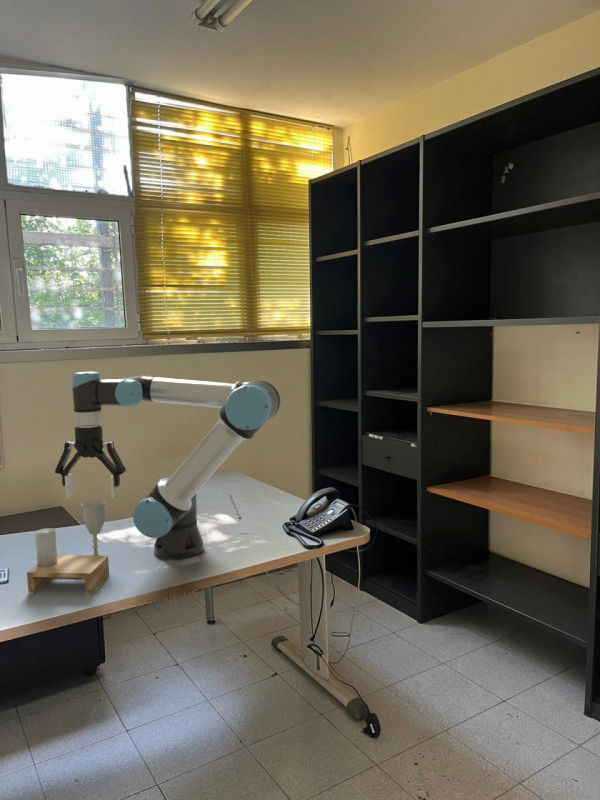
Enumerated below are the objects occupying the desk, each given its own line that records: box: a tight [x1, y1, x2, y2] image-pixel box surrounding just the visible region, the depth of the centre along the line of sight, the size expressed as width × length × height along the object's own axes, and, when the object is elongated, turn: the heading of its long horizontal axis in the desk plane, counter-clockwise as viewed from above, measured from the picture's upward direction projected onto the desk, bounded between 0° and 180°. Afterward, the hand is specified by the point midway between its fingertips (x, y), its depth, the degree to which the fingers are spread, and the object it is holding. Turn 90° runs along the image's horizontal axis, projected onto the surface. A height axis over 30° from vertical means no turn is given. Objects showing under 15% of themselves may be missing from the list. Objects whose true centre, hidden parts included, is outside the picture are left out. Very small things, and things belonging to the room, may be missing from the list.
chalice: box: [80, 500, 107, 556], centre depth 174 cm, size 7×7×18 cm
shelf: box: [26, 554, 110, 596], centre depth 160 cm, size 17×12×6 cm
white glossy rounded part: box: [34, 527, 58, 567], centre depth 160 cm, size 5×5×9 cm
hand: (91, 497), depth 173 cm, fingers open, 13 cm apart
